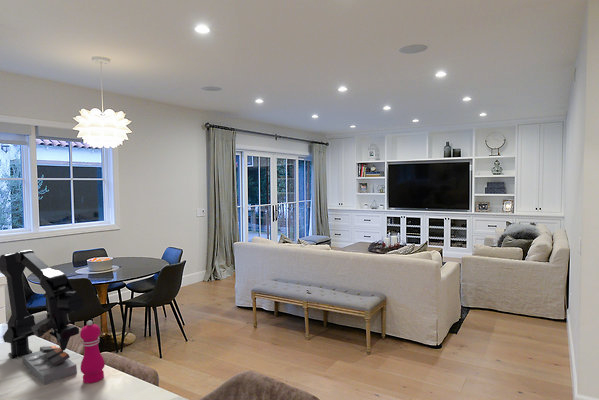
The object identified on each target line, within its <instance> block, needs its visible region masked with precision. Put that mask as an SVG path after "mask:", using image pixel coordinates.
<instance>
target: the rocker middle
mask: <svg viewBox="0 0 599 400" xmlns="http://www.w3.org/2000/svg"><path fill="white" fill-rule="evenodd" d="M63 352H64V351H63V350H62V349H61V348H60V347H57V349H55V350H53V351H51V352H49V353H46V354H44V356H45V358H46V359H47V360H50V359H52V358H54V357H56V356H58V355H59V354H61V353H63Z"/></svg>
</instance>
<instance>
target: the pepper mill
mask: <svg viewBox="0 0 599 400" xmlns="http://www.w3.org/2000/svg"><path fill="white" fill-rule="evenodd" d="M93 323H94V322H93V320H88V321H86V325H84V326H83V327H82V328H81V329H80V331H79V336H80V339H81V340H82V346H83V349H84V354H83V357H82V360H81V363H80V372H81V373H82V374H83V375H82V382H83V383H85V384H93V383H97V382H99V381H101V380H102V379H103V378H104V377H105V374H104V372H105V371H104V368H105V365H106V364H105V359H104V357H103V355H102V354H101V352H100V349H99V343H100V337H99V336H100V335H101V328H100V327H99V325H97V324H96V323H94V324H93Z"/></svg>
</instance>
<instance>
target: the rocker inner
mask: <svg viewBox="0 0 599 400" xmlns="http://www.w3.org/2000/svg"><path fill="white" fill-rule="evenodd" d="M57 348H58V347H57V346H56V345H52V346H51V345H48V346H47V345H46V346H40V347H39V351H41V352H42V353H49V352H51V351H53V350H55V349H57Z"/></svg>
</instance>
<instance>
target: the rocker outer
mask: <svg viewBox="0 0 599 400" xmlns="http://www.w3.org/2000/svg"><path fill="white" fill-rule="evenodd" d="M70 358H71V357H70V354H69V353H67V352H66V351H63V353H61V354H59V355H58V356H56V357H54V358H52V359H50V362H51V363H52V364H53V365H54V366H56V365H58V364H59V363H60V364H63V363H64V362H65V360H66V359H70Z"/></svg>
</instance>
